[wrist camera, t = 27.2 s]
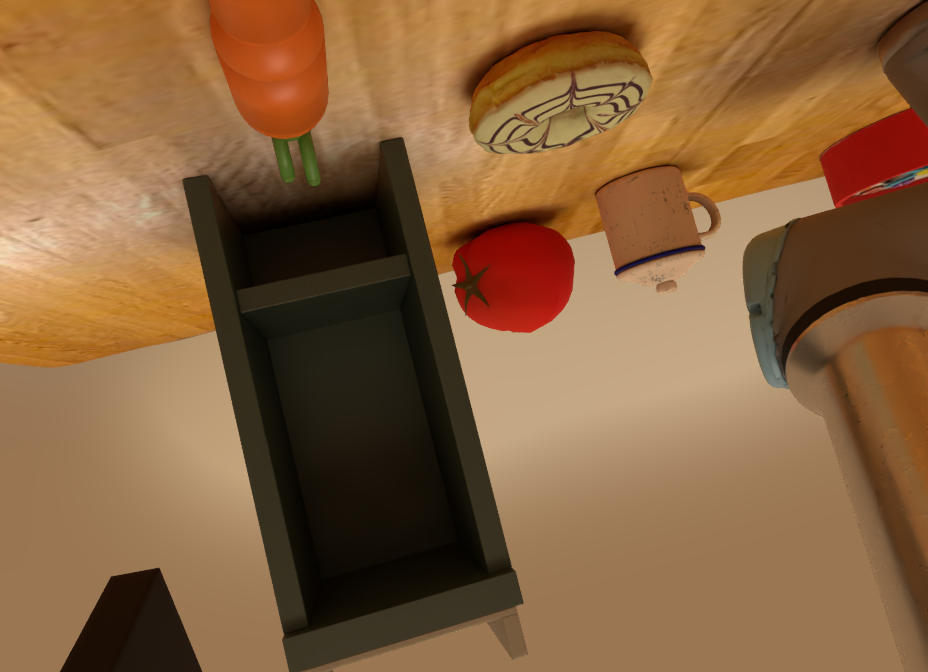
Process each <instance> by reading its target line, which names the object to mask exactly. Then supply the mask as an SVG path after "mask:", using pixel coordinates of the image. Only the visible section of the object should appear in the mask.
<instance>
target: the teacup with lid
mask: <svg viewBox="0 0 928 672" xmlns="http://www.w3.org/2000/svg"><path fill="white" fill-rule="evenodd" d="M596 200H597V204H598V207H599V211H600V214H601V218H602V222H603V225H604V229H605V232H606V236H607V239H608V243H609V246H610V250H611V254H612V258H613V261H614V265H615V268H616V271H615V272H614V274H615V275H616V276H617V278H618V279H619V280H620V281H630V282H636V283H639V284H642V285H645V286H655V285H657V287H656V289H657V292H658V293H659V294H665V293H669V292H672V291H674V290H676V289H677V284H676V282H675V281H674V280H676V279H678V278H680V277H681V276H683V275H684V274H685V273H686V272H687V271H688V269H689V268H690V267H691V266H692V265H693V264H694V263H696V262H697V261H699V260H701V259H702V258H703V257H704V255H705V251H704V250H705V246H703V245H702V244H701V240H705V239H708V238H710V237H712V236H713V235H714V234H715V233H716V232H717V231H718V229H719V228H720V225H721V217H720V213H719V210H718V208H717V207H716V205H715V204H714V202H713V201H712V200H711V199H710V198H708V197H707V196H705V195H703V194H701V193H695V192H692V193H687V192H686V189H685V185H684V182H683V179H682V175H681V172H680V170H679V169H678V168H676V167H673V166H662V167H655V168H650V169H646V170H642V171H639V172H635V173H632V174H629V175H627V176H624V177H622V178H619V179H617V180H615V181H613V182H611V183H609V184H607V185H606V186H604V187H603V188H601V189H600V190H599V191H598V193H597V195H596ZM689 201H695V202H698V203H700V204H701V205H702V206H704V207H705V208H706V210H707V211H708V213H709V215H710V218H711V227H710V229H709V231H707V232H703V233H698V230H697V227H696V224H695V220H694V217H693V213H692V210H691V206H690V203H689Z"/></svg>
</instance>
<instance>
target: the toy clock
mask: <svg viewBox="0 0 928 672" xmlns="http://www.w3.org/2000/svg"><path fill="white" fill-rule="evenodd" d="M820 161H821V164H822V168H823V171H824V174H825V177H826V180H827V183H828V187H829V190H830V193H831V196H832V199H833V203H834V206H835V207H836V208H838V207H842V206H845V205H849V204H852V203H856V202H859V201H863V200H866V199H870V198H873V197H876V196H880V195H883V194H887V193H890V192H894V191H897V190H901V189H904V188H908V187H911V186H915V185H918V184H922V183H925V182H927V181H928V127H927V126H926V125H925V124H924V122H923V121H922V120H921V119H920V117H919V116H918V115H917V114H916V112H915V111H914V110H913V109H912V108H910V109H908V110H905V111H902V112H900V113H897V114H895V115H893V116H890V117H888V118H885V119H883V120H881V121H878V122H876V123H874V124H872V125H869V126H867V127H865V128H863V129H861V130H859V131H857V132H855V133H853V134H851V135H849V136H847V137H845V138H844V139H842V140H840V141H838V142H837V143H835V144H834V145H832V146H831V147H829V148H828V149H827V150H826V151H824V152H823V153H822V155H821V156H820Z"/></svg>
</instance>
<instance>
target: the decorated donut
mask: <svg viewBox="0 0 928 672" xmlns="http://www.w3.org/2000/svg"><path fill="white" fill-rule="evenodd" d="M652 80H653V78H652V76H651V74H650V70H649V68H648V64H647V62H646V61H645V59H644V58H643V57H642V55H641V53H640V52H639V51H638V50H637V48H635V47H634V46H633V45H632V44H631V43H630V42H628V41H627V40H625V39H624V38H623V37H621V36H618V35H615V34H613V33H609V32H605V31H603V32H602V31H593V32H583V33H573V34H562V35H554V36H551V37H548V38H547V39H545V40H543V41H537V42H535V43H533V44H530V45H528V46H526V47H523V48H521V49H519V50H517V51H516V52H515V53H514V54H512V55H510V56H507V57H506V58H504V59H503V60H501V61H500V62H498V63H496V64H495V65H493V66H492V67H491V68H490V70H489V72H488V73H487V74H486V75H485V76H484V77H483V79H482V80H481V82H480V83H479V84H478V86H477V87H476V89H475V91H474V94H473V96H472V104H471V109H470V116H469V127H470V131H471V133H472V134H473V135H474V139H475V141H476V142H477V143H478V144H479V145H480V146H481V147H483V148H484V149H485V151H487V152H491V153H498V154H508V153H511V154H526V153H539V152H544V151H549V150H553V149H557V148H561V147H566V146H569V145H572V144H574V143H576V142H578V141H581V140H583V139H585V138H588V137H591V136H594V135H597V134H600V133H602V132H604V131H606V130H609V129H611V128H613V127H615V126H616V125H618V124H620V123H621V122H623V121H624V120H625V119H627V118H628V117H630V116H631V115H633V114H634V113H635V112H636V111H637V109H638V108H639V106H640V105H641V103H642V102H643V100H644V99H645V96H646V95H647V93H648V91H649V89H650V85H651V83H652Z"/></svg>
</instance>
